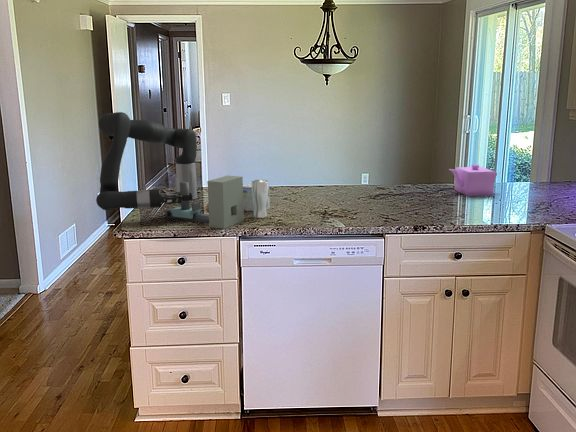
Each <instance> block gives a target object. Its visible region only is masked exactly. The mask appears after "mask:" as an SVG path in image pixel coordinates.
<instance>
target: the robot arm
mask: <svg viewBox="0 0 576 432" xmlns="http://www.w3.org/2000/svg"><path fill="white" fill-rule="evenodd" d="M98 126H99V127H98V128H99V129H100V131H101V132H102V133H103V134H105V135H106V136H110V137H113V138H112V142H111V145H110V148H109V149H108V151H107V153H106V155H105V157H104V159H103V160H102V164H101V168H100V176H99V183H100V188H99V194H97V196H96V199H95V202H96V204H97V206H98V207H99V208H101V209H102V210H103V211H111V210H113V209H153V208H154V209H155V208H156V209H157V208H159V209H160V208H162V203H166V204H167V205H172V204H173V205H174V204H178V203H180V204H181V202H182V201H190V202H191V201H193V200H196V199H198V188H197V187H198V185H197V170H196V169H197V168H196V167H197V166H196V160H197V159H196V158H197V148H198V147H197V144H198V143H197V141H198V140H197V135H196V132H195V131H194V130H193V129H192V128H170V127H166V126H164V125H163V124H161V123H159V122H156V121H152V120H145V119H131V118H130V117H129V115H128V114H127V113H126V112H122V111H119V112H117V111H116V112H108V113H105V114H103V115H102V116H100V118H99V120H98ZM128 138H130V139H133V140H136V141H137V140H138V141H141V142H146V143H150V144H164V145H167V146H171V147H173V148H176V149H182V153H181V154H180V155H177V156H176V157H175V172H176V178H175V179H174V184H175V186H174V187H175V189H174V190H175V191H166V192H165V193H162V192H161V188H159V189H158V188H153V189H150V188H149V189H141V190H140V189H139V190H128V191H118V183H119V179H120V178H119V177H120V169H121V164H122V158H123V154H124V151H125V149H126V146H127V141H128ZM180 182H189V195H180Z"/></svg>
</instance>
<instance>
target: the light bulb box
mask: <svg viewBox="0 0 576 432" xmlns="http://www.w3.org/2000/svg"><path fill="white" fill-rule="evenodd" d="M251 186H252V183H251V184H250V183H248V184H247V183H246V184H245V185H243V210H244V211H250V212H251V211H252V212H254V205H253V200H252V193H251ZM270 198H271V197H270V185H269V184H268V200H267V211H268V210H270V209H271V208H270V207H271V204H270V203H271V202H270Z"/></svg>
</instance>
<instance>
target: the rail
mask: <svg viewBox="0 0 576 432" xmlns="http://www.w3.org/2000/svg"><path fill="white" fill-rule="evenodd" d="M174 208H175V207H171V208H167V209H165V210H164V217H165V218H167V219H175V220H182V221H190V222H191V221H192V222H198V223H206V224H209V213H208V214H207V213H194V214H193V219H189V218H182V217H174V216H172V213H171V209H174Z"/></svg>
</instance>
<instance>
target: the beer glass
mask: <svg viewBox="0 0 576 432" xmlns="http://www.w3.org/2000/svg"><path fill="white" fill-rule="evenodd" d="M268 182H269V181H268V180H267V179H253V180H251V184H252V186H251V193H252V200H253V205H254V211H253V213H252V217H253V218H256V219H264V218H267V217H268V210H267V200H268V185H269V183H268Z"/></svg>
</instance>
